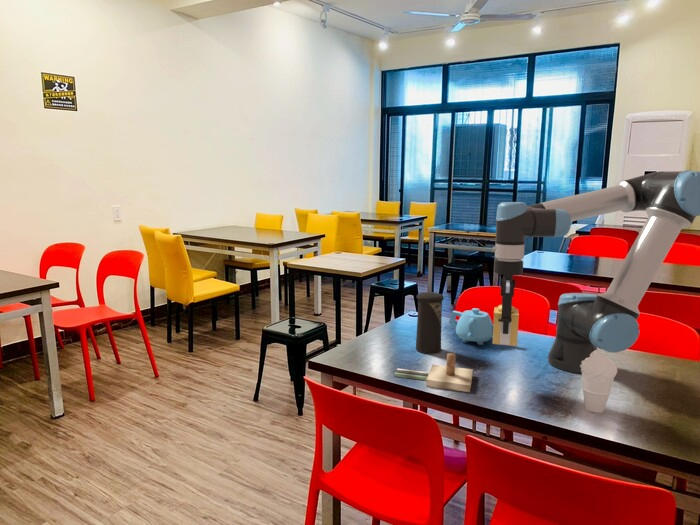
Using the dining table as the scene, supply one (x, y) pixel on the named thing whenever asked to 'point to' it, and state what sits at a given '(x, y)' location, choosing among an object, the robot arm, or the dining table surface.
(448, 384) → the block
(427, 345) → the container
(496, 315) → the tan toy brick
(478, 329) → the teapot
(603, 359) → the soft serve ice cream cone
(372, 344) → the dining table surface
